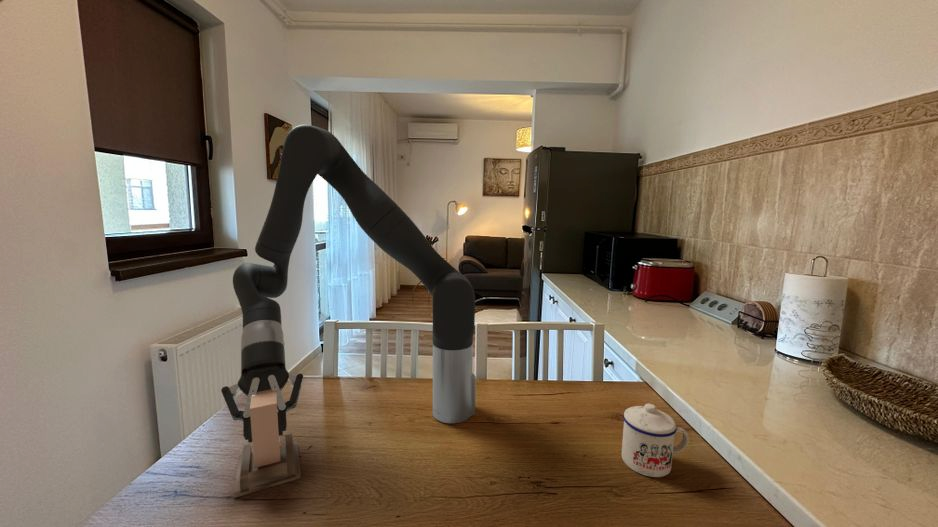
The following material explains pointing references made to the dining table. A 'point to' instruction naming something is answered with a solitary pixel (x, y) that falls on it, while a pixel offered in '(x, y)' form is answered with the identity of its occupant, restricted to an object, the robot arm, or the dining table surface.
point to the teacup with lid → (650, 440)
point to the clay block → (265, 428)
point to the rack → (267, 469)
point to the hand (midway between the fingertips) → (266, 437)
